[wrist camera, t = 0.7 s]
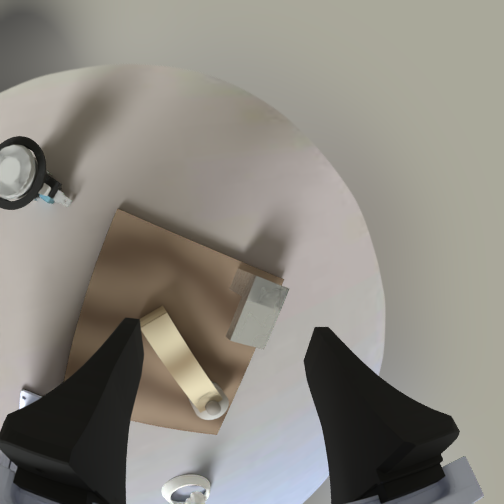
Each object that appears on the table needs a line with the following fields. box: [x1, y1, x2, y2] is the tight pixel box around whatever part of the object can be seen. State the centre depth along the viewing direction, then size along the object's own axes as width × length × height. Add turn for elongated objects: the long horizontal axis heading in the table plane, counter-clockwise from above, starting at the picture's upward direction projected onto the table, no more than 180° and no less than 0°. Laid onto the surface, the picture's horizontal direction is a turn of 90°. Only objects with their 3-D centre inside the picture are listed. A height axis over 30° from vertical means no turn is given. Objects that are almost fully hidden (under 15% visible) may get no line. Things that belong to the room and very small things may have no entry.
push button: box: [0, 136, 72, 210], centre depth 20 cm, size 7×5×10 cm
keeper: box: [226, 269, 289, 349], centre depth 31 cm, size 7×4×5 cm, turn 156°
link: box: [140, 306, 229, 420], centre depth 29 cm, size 14×4×3 cm, turn 25°
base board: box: [64, 209, 284, 435], centre depth 31 cm, size 22×20×1 cm
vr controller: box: [162, 475, 210, 504], centre depth 30 cm, size 8×12×7 cm
